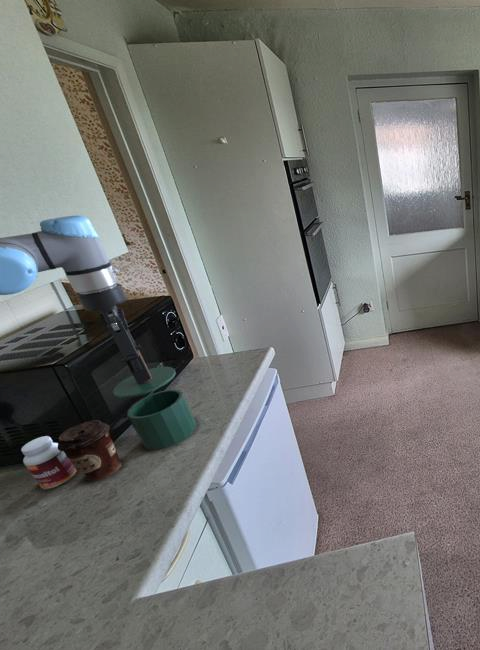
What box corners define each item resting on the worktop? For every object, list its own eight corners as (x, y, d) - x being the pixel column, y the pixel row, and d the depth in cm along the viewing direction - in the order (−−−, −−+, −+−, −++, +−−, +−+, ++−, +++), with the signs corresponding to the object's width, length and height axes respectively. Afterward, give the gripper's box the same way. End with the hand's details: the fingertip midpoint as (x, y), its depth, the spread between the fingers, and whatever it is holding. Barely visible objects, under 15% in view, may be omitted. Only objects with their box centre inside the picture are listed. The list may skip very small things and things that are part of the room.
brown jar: (106, 487, 86) (78, 443, 80) (71, 489, 86) (41, 445, 81) (136, 458, 93) (113, 416, 88) (104, 459, 94) (79, 417, 89)
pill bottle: (35, 494, 85) (8, 457, 81) (50, 474, 91) (25, 439, 86) (70, 484, 87) (45, 447, 83) (82, 465, 93) (59, 430, 88)
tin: (135, 455, 94) (117, 422, 90) (158, 425, 104) (142, 394, 100) (185, 445, 96) (169, 412, 92) (203, 417, 106) (189, 386, 102)
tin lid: (103, 404, 87) (83, 371, 83) (133, 375, 98) (117, 344, 95) (162, 394, 89) (146, 360, 85) (185, 366, 100) (171, 336, 97)
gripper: (122, 291, 80) (166, 383, 90) (118, 276, 91) (157, 360, 101) (75, 302, 76) (126, 398, 85) (77, 285, 87) (122, 372, 96)
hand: (143, 377), depth 93 cm, fingers closed on tin lid, 3 cm apart
